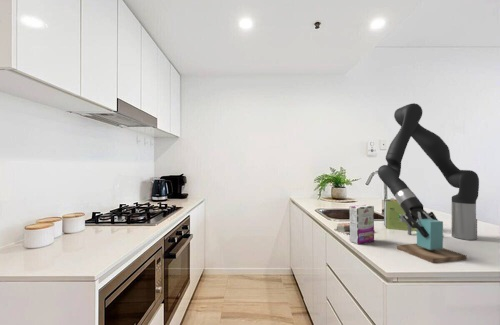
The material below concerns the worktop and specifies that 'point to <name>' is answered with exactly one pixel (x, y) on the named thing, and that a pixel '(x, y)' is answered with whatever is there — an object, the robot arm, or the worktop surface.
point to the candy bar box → (361, 224)
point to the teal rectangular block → (431, 234)
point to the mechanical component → (405, 222)
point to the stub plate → (432, 253)
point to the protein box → (394, 215)
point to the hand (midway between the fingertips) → (433, 235)
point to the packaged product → (344, 228)
